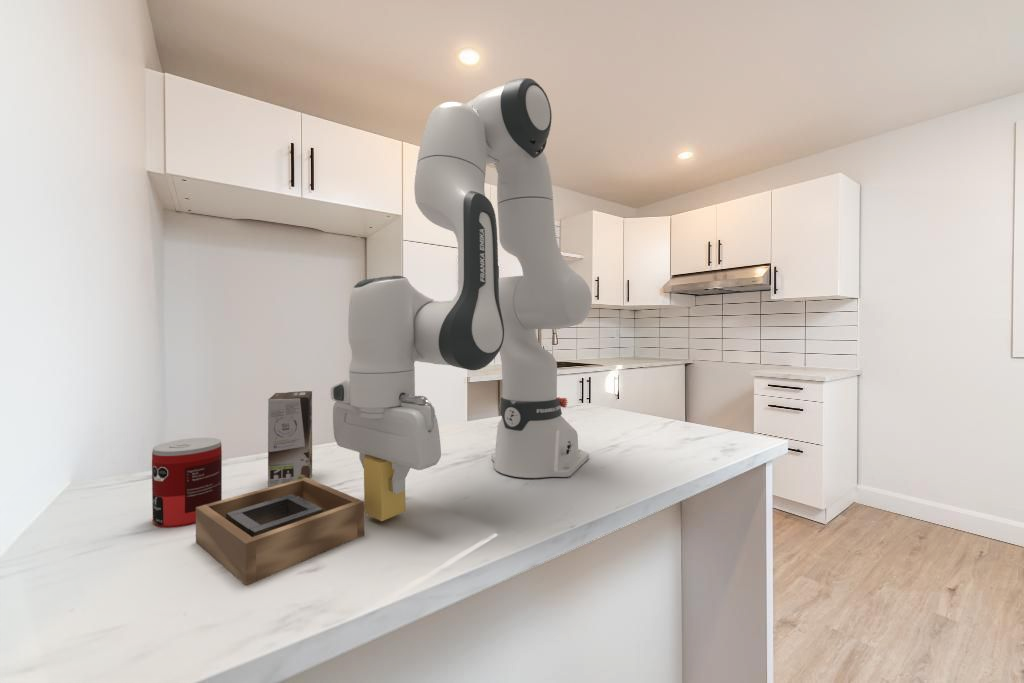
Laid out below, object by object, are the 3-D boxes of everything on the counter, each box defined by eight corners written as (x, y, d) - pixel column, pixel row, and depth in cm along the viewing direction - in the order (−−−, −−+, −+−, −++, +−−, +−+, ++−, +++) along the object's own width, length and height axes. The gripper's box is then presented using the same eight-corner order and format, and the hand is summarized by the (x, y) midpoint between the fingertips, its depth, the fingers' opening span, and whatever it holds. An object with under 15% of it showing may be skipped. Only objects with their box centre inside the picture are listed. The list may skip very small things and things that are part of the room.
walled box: (306, 510, 64) (306, 477, 64) (364, 539, 55) (364, 501, 55) (195, 546, 53) (195, 507, 53) (245, 591, 44) (245, 543, 44)
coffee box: (309, 490, 72) (309, 396, 72) (266, 495, 70) (266, 398, 69) (313, 474, 80) (313, 390, 80) (275, 478, 78) (275, 391, 78)
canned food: (165, 513, 63) (165, 439, 62) (228, 505, 65) (228, 435, 65) (141, 536, 55) (140, 453, 55) (213, 527, 58) (212, 448, 58)
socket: (292, 522, 59) (292, 493, 58) (323, 539, 54) (323, 508, 54) (225, 545, 52) (225, 513, 52) (254, 567, 47) (253, 532, 47)
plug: (388, 504, 63) (387, 451, 63) (405, 510, 60) (404, 455, 60) (364, 513, 60) (363, 457, 59) (381, 521, 57) (380, 463, 57)
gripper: (451, 394, 56) (452, 497, 56) (361, 382, 68) (363, 467, 69) (413, 401, 51) (415, 514, 51) (324, 387, 63) (326, 478, 63)
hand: (384, 487), depth 60 cm, fingers closed on plug, 4 cm apart
